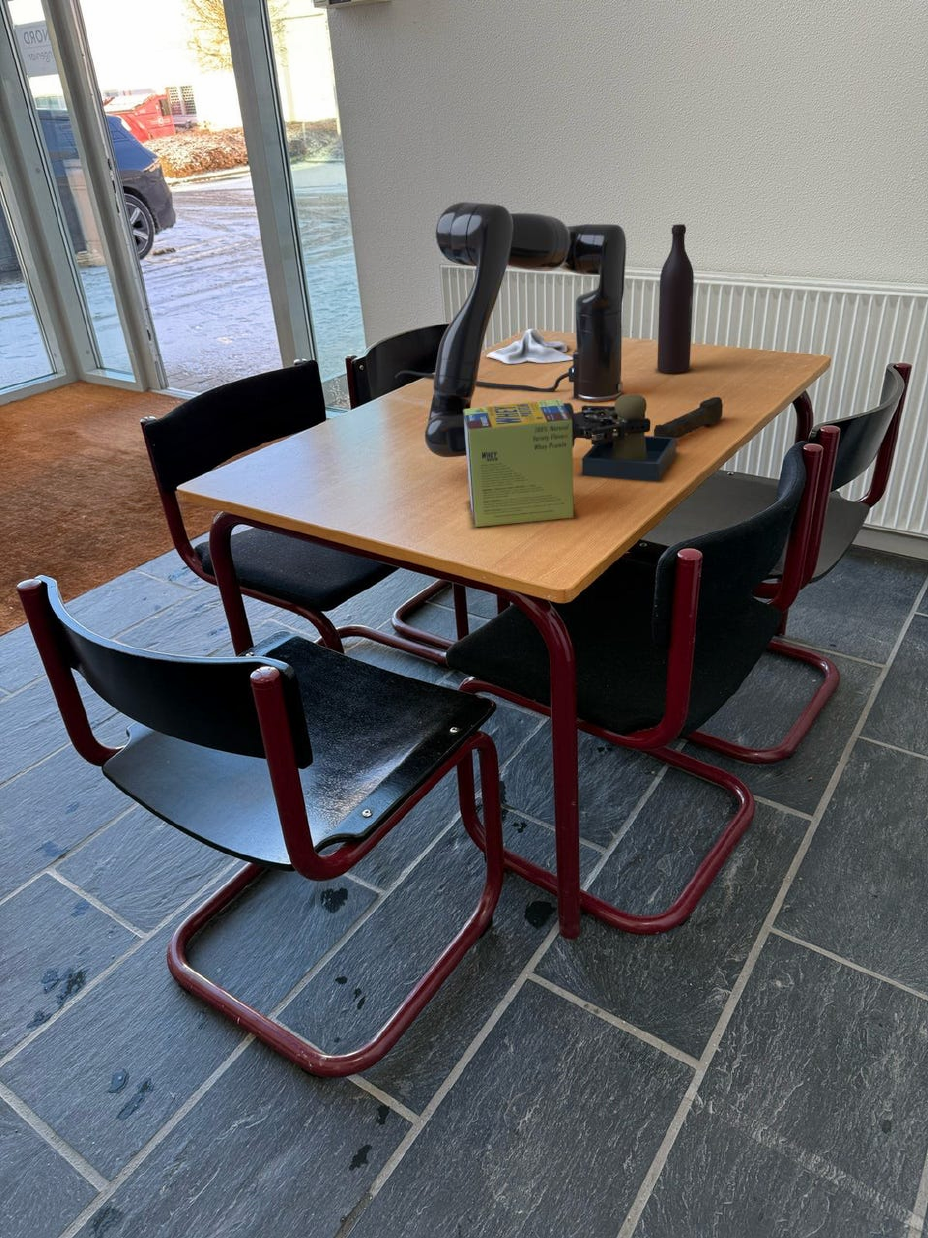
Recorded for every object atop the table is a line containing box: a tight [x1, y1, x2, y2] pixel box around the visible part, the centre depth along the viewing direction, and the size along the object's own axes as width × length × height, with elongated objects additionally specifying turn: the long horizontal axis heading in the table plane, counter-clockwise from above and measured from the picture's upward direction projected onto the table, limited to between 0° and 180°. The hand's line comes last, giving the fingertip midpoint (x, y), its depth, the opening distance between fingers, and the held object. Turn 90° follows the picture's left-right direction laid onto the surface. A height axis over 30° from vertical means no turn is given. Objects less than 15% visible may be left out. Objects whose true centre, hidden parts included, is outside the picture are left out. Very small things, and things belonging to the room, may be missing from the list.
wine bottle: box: [656, 223, 695, 375], centre depth 195 cm, size 7×7×30 cm
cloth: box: [486, 328, 573, 365], centre depth 222 cm, size 22×19×6 cm
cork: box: [611, 393, 648, 462], centre depth 152 cm, size 6×6×11 cm
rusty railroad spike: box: [653, 396, 724, 440], centre depth 165 cm, size 19×4×5 cm, turn 131°
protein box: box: [463, 398, 575, 528], centre depth 138 cm, size 10×15×16 cm
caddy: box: [581, 435, 677, 482], centre depth 154 cm, size 13×13×3 cm
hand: (646, 420), depth 151 cm, fingers closed on cork, 4 cm apart
